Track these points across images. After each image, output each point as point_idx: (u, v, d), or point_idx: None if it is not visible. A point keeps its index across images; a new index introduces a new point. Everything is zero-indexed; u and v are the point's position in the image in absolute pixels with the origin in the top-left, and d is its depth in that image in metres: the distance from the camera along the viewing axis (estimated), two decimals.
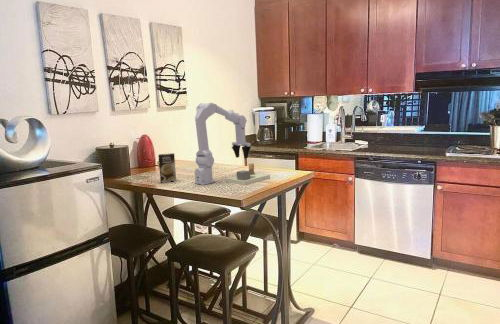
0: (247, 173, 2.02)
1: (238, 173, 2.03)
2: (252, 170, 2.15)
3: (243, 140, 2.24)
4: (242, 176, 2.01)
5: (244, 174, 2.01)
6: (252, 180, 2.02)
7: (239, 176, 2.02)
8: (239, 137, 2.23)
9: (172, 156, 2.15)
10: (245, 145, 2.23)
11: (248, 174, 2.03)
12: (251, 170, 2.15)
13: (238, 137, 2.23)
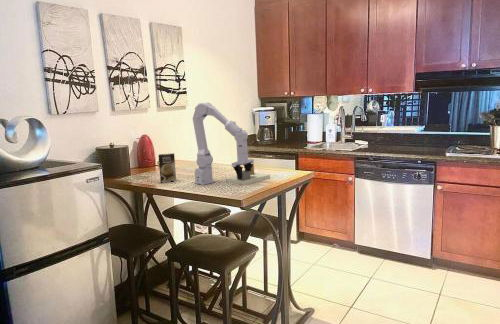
0: (247, 173, 2.02)
1: None
2: (252, 170, 2.15)
3: (238, 159, 2.01)
4: (242, 176, 2.01)
5: (244, 174, 2.01)
6: (252, 180, 2.02)
7: None
8: None
9: (172, 156, 2.15)
10: None
11: (248, 174, 2.03)
12: (251, 170, 2.15)
13: None
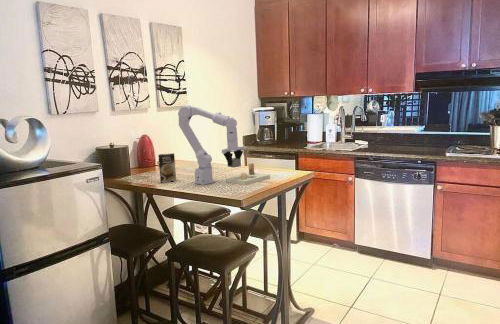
0: (237, 160, 2.05)
1: None
2: (252, 170, 2.15)
3: (228, 146, 2.04)
4: (232, 163, 2.04)
5: (234, 161, 2.04)
6: (252, 180, 2.02)
7: None
8: None
9: (172, 156, 2.15)
10: None
11: (238, 161, 2.06)
12: (251, 170, 2.15)
13: None
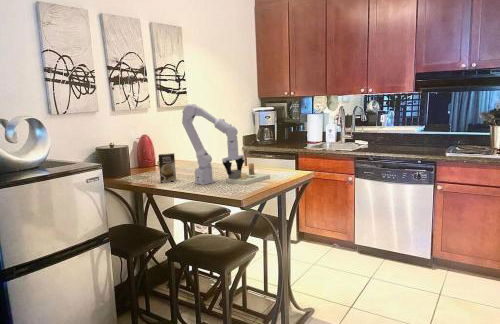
0: (238, 172, 2.06)
1: None
2: (252, 170, 2.15)
3: (229, 154, 2.05)
4: (233, 175, 2.05)
5: (235, 173, 2.05)
6: (252, 180, 2.02)
7: (230, 175, 2.07)
8: None
9: (172, 156, 2.15)
10: None
11: (239, 173, 2.07)
12: (251, 170, 2.15)
13: None
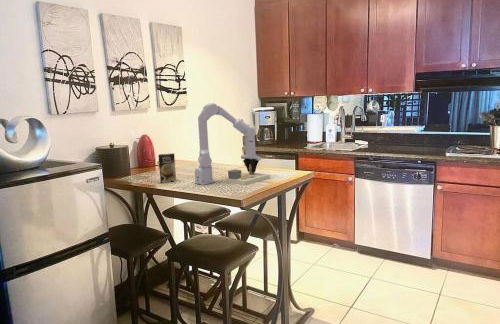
0: (238, 172, 2.06)
1: (229, 172, 2.07)
2: None
3: (253, 153, 2.13)
4: (233, 175, 2.05)
5: (235, 173, 2.05)
6: (252, 180, 2.02)
7: (230, 175, 2.07)
8: (249, 150, 2.12)
9: (172, 156, 2.15)
10: (255, 159, 2.12)
11: (239, 173, 2.07)
12: (251, 170, 2.15)
13: (248, 150, 2.12)
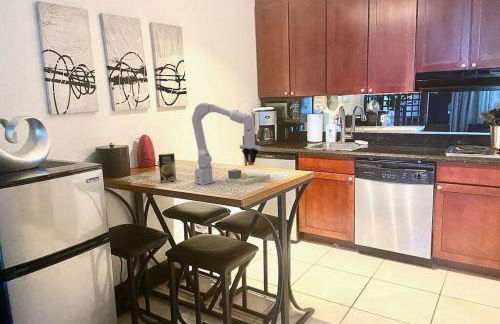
0: (238, 172, 2.06)
1: (229, 172, 2.07)
2: None
3: (252, 143, 2.03)
4: (233, 175, 2.05)
5: (235, 173, 2.05)
6: (252, 180, 2.02)
7: (230, 175, 2.07)
8: (248, 139, 2.02)
9: (172, 156, 2.15)
10: (255, 148, 2.02)
11: (239, 173, 2.07)
12: (250, 160, 2.06)
13: (247, 139, 2.02)
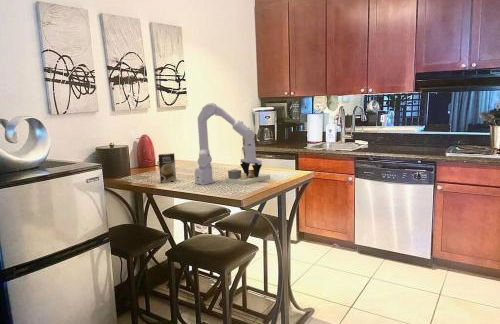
0: (238, 172, 2.06)
1: (229, 172, 2.07)
2: (252, 176, 2.07)
3: (253, 157, 2.04)
4: (233, 175, 2.05)
5: (235, 173, 2.05)
6: (252, 180, 2.02)
7: (230, 175, 2.07)
8: (249, 154, 2.04)
9: (172, 156, 2.15)
10: (256, 163, 2.04)
11: (239, 173, 2.07)
12: (251, 176, 2.07)
13: (248, 154, 2.04)
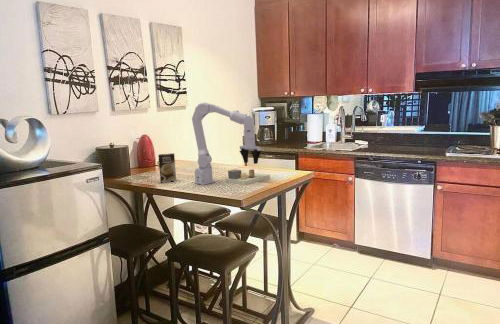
0: (238, 172, 2.06)
1: (229, 172, 2.07)
2: (252, 176, 2.07)
3: (252, 144, 2.03)
4: (233, 175, 2.05)
5: (235, 173, 2.05)
6: (252, 180, 2.02)
7: (230, 175, 2.07)
8: (248, 140, 2.02)
9: (172, 156, 2.15)
10: (255, 149, 2.03)
11: (239, 173, 2.07)
12: (251, 176, 2.07)
13: (247, 140, 2.03)
